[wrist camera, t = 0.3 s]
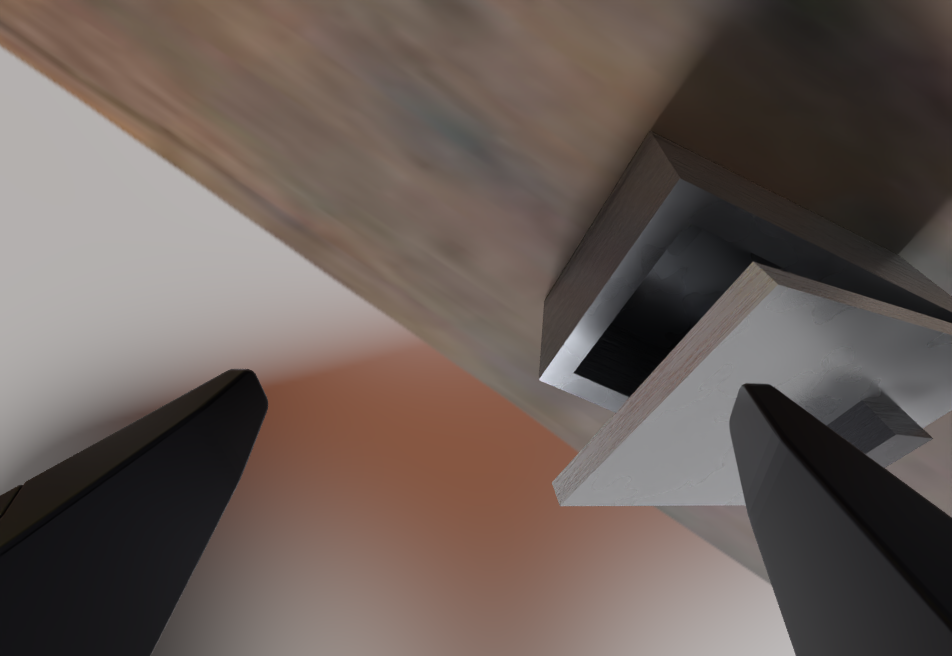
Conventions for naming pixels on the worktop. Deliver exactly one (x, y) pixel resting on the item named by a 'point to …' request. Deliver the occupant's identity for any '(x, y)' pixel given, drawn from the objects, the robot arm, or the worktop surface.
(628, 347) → the open storage bin
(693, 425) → the grey flat panel
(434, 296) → the worktop surface
